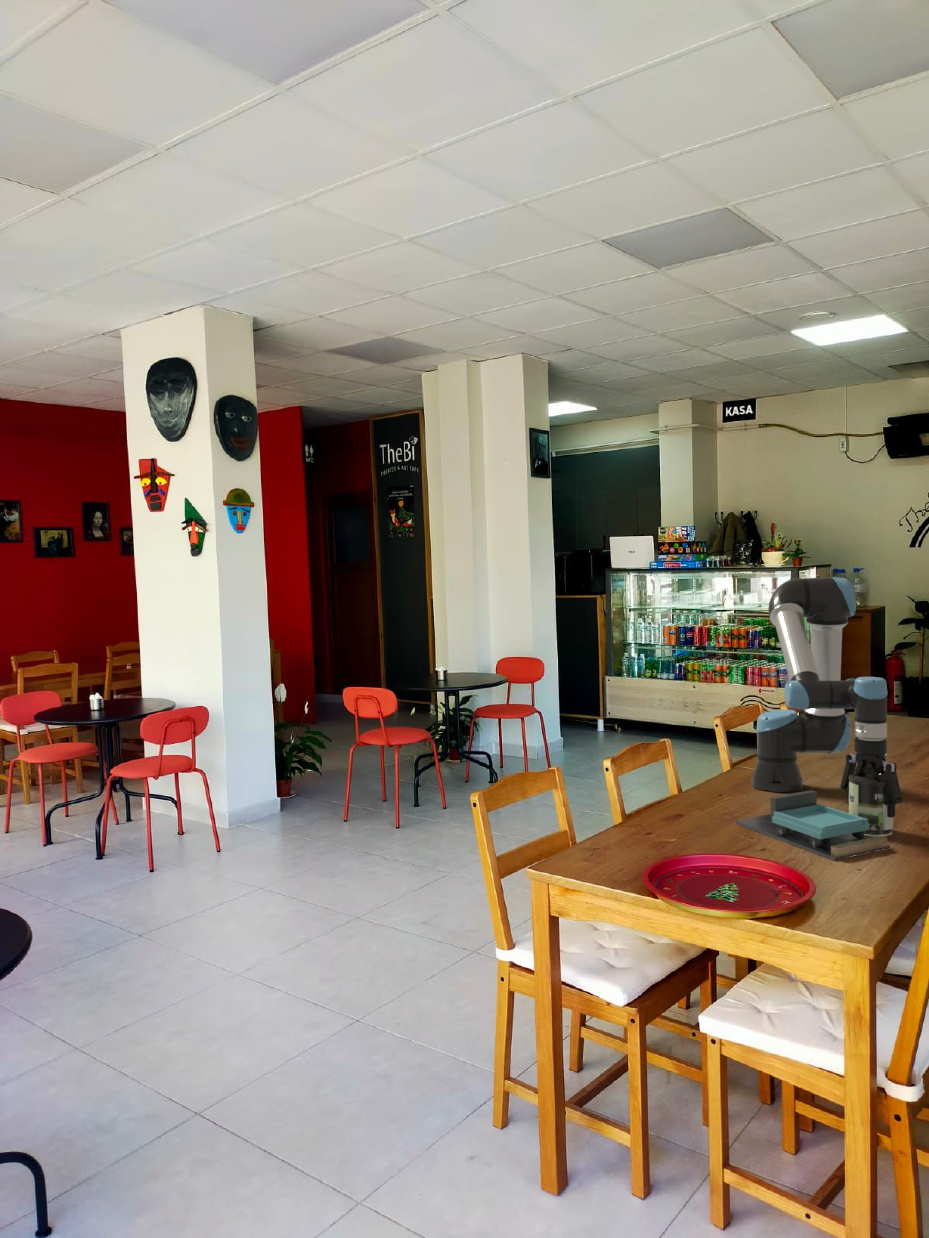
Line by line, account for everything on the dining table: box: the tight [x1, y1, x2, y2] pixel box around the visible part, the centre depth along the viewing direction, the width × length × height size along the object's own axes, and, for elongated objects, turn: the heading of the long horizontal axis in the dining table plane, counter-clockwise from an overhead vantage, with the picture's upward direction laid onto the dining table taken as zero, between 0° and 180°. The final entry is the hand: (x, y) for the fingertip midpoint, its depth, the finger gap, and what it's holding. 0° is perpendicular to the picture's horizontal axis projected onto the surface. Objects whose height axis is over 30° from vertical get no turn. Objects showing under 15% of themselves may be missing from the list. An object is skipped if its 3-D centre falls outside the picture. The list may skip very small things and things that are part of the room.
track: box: [734, 813, 891, 861], centre depth 227 cm, size 34×18×3 cm, turn 24°
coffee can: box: [848, 773, 893, 838], centre depth 228 cm, size 10×10×14 cm
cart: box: [770, 790, 869, 847], centre depth 224 cm, size 18×16×8 cm
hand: (870, 823), depth 228 cm, fingers closed on coffee can, 10 cm apart
